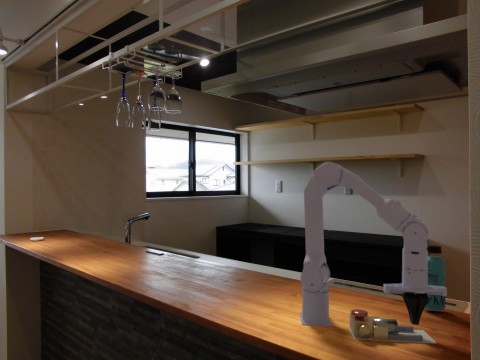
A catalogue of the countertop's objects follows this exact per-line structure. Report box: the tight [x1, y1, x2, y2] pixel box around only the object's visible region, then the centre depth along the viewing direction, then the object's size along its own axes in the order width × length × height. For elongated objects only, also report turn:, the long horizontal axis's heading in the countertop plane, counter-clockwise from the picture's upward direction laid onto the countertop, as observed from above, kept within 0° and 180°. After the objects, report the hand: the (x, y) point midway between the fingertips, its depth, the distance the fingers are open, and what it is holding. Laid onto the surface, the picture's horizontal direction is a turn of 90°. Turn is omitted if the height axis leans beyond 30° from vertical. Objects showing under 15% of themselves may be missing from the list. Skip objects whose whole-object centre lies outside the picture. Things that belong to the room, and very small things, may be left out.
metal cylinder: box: [371, 318, 399, 334], centre depth 91 cm, size 4×6×4 cm, turn 84°
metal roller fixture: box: [347, 324, 437, 344], centre depth 92 cm, size 8×19×2 cm, turn 84°
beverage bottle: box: [424, 244, 447, 312], centre depth 110 cm, size 6×7×20 cm
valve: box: [349, 308, 389, 342], centre depth 92 cm, size 10×8×5 cm
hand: (414, 323), depth 91 cm, fingers closed
